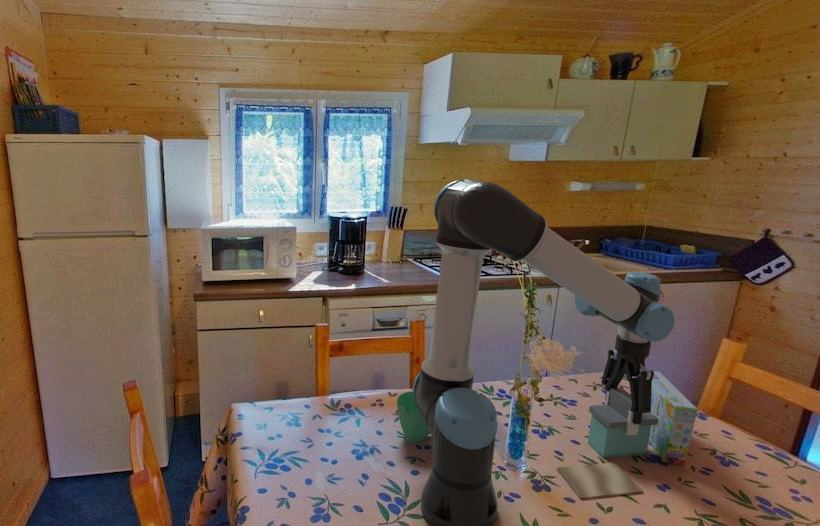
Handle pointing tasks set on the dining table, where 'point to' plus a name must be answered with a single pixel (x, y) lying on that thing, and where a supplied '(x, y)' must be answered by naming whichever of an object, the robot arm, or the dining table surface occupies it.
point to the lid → (619, 410)
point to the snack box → (671, 421)
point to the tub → (617, 440)
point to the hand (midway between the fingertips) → (619, 424)
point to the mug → (411, 418)
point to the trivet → (598, 480)
